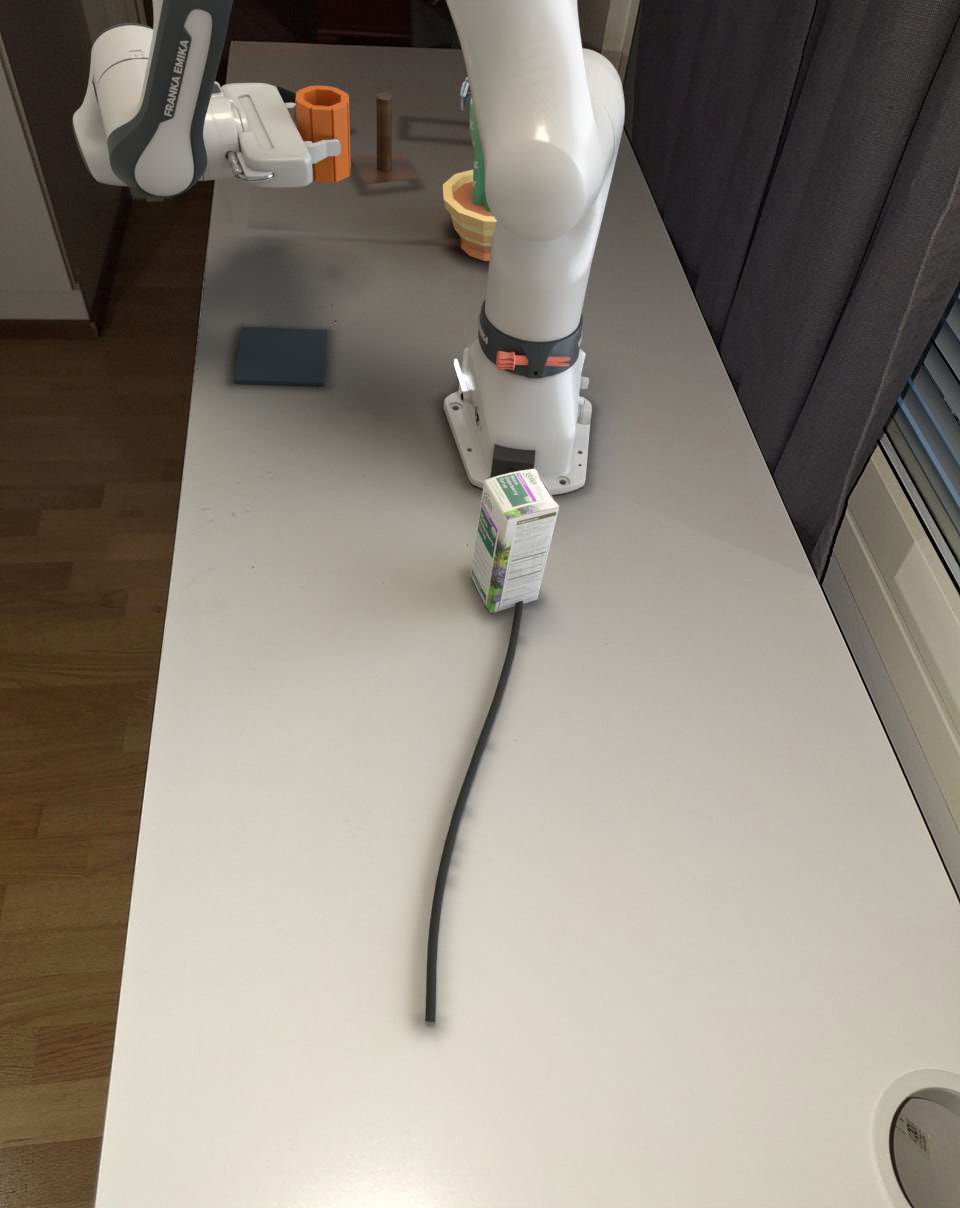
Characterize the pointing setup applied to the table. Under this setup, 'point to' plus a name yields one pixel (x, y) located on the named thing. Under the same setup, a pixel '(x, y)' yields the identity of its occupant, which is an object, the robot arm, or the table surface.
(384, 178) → the post
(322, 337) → the mat
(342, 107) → the orange faceted tube
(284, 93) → the electric trimmer
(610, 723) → the table surface
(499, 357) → the robot arm
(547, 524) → the syrup box
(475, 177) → the potted cactus
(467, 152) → the table surface
